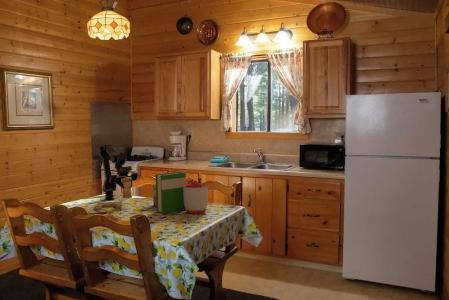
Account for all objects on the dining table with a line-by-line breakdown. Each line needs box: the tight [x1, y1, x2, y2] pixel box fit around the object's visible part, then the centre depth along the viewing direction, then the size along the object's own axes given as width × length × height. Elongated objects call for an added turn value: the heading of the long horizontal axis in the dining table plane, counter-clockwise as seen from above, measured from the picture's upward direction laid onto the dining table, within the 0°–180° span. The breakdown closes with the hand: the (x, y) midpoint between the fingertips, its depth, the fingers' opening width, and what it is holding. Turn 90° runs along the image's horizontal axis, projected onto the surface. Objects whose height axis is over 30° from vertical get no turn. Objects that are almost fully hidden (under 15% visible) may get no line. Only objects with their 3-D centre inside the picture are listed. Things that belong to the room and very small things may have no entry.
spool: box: [121, 177, 133, 200], centre depth 256 cm, size 6×6×13 cm
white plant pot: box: [183, 180, 210, 215], centre depth 241 cm, size 16×17×20 cm
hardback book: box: [155, 171, 187, 215], centre depth 244 cm, size 18×7×24 cm, turn 128°
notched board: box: [95, 200, 123, 212], centre depth 259 cm, size 16×16×2 cm
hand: (127, 187), depth 254 cm, fingers closed on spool, 5 cm apart
